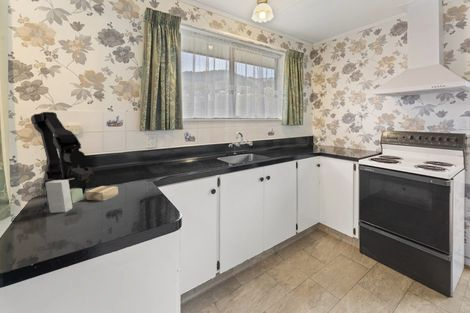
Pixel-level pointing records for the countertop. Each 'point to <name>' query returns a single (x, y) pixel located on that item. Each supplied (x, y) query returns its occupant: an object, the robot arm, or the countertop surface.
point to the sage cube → (76, 194)
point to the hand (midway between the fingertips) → (73, 197)
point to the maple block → (102, 193)
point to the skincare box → (58, 196)
